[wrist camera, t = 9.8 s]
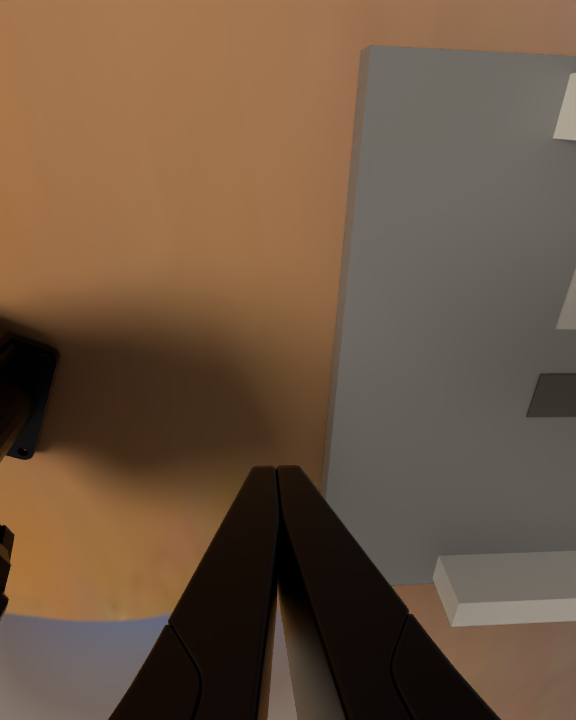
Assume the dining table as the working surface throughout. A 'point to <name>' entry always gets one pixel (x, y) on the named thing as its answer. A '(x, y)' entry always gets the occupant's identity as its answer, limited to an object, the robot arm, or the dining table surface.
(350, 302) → the breaker panel
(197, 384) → the dining table surface
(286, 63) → the dining table surface
